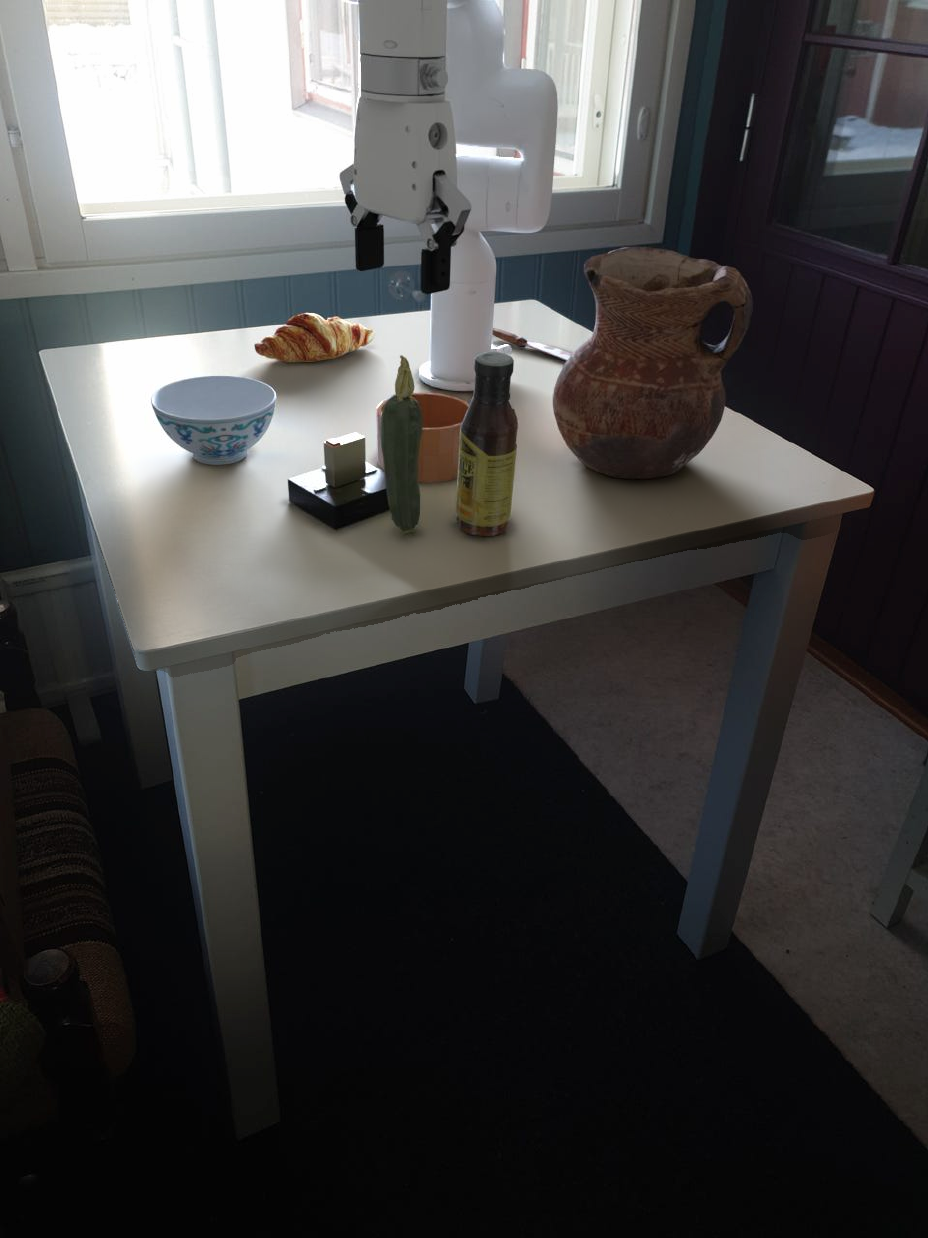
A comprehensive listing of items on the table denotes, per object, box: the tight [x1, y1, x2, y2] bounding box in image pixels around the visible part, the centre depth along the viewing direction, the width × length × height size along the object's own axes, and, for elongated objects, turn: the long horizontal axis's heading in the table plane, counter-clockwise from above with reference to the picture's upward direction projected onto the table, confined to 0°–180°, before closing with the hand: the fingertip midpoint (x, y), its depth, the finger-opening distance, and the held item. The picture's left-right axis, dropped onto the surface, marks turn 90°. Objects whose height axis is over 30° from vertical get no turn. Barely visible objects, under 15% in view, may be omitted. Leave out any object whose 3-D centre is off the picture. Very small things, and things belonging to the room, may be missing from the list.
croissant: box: [254, 312, 375, 364], centre depth 155 cm, size 21×10×8 cm, turn 126°
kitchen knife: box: [492, 327, 573, 362], centre depth 163 cm, size 21×2×5 cm
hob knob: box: [323, 432, 367, 488], centre depth 110 cm, size 5×2×5 cm, turn 134°
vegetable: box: [381, 354, 423, 535], centre depth 102 cm, size 4×4×20 cm
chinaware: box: [150, 375, 277, 466], centre depth 121 cm, size 15×15×8 cm
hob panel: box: [287, 462, 390, 531], centre depth 112 cm, size 10×9×3 cm
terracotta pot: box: [376, 392, 470, 484], centre depth 122 cm, size 12×12×7 cm
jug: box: [552, 246, 754, 480], centre depth 120 cm, size 22×21×25 cm
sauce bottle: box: [455, 352, 519, 537], centre depth 104 cm, size 7×6×20 cm
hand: (401, 279), depth 93 cm, fingers open, 9 cm apart
